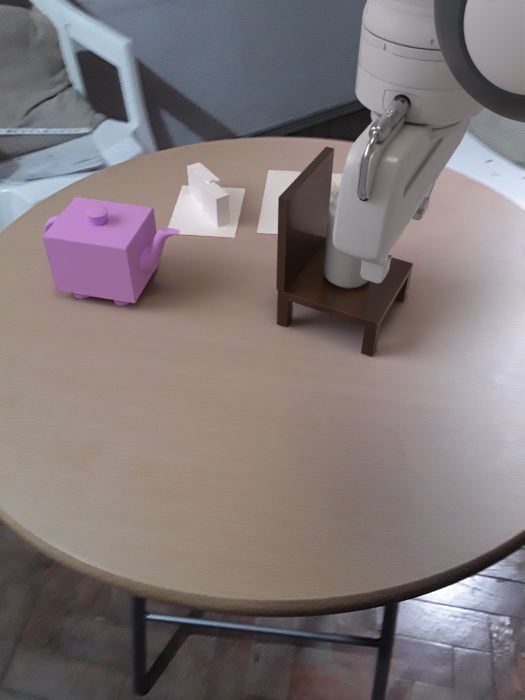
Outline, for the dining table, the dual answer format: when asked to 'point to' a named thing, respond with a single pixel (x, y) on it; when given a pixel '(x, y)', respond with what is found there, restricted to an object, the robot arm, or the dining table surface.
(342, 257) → the beverage can
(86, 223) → the teapot
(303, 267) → the wooden doll chair
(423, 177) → the robot arm
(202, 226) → the napkin holder
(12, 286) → the dining table surface
